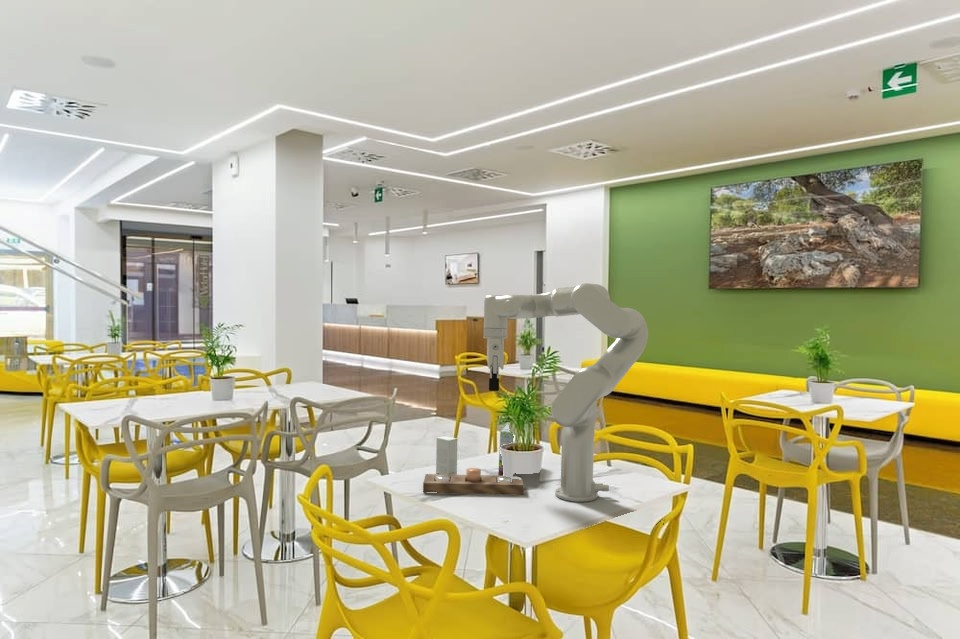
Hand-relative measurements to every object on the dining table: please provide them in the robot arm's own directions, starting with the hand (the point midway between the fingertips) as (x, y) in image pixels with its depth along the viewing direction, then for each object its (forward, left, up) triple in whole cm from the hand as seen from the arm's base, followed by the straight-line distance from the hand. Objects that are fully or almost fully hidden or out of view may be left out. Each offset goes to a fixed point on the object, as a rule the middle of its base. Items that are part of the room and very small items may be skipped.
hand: (493, 390), depth 208 cm
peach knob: (+6, +10, -27) cm, 29 cm away
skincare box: (+15, -7, -29) cm, 34 cm away
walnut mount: (+6, +10, -29) cm, 31 cm away
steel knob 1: (+15, +10, -29) cm, 34 cm away
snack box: (-7, -15, -30) cm, 34 cm away
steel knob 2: (-4, +10, -29) cm, 31 cm away
